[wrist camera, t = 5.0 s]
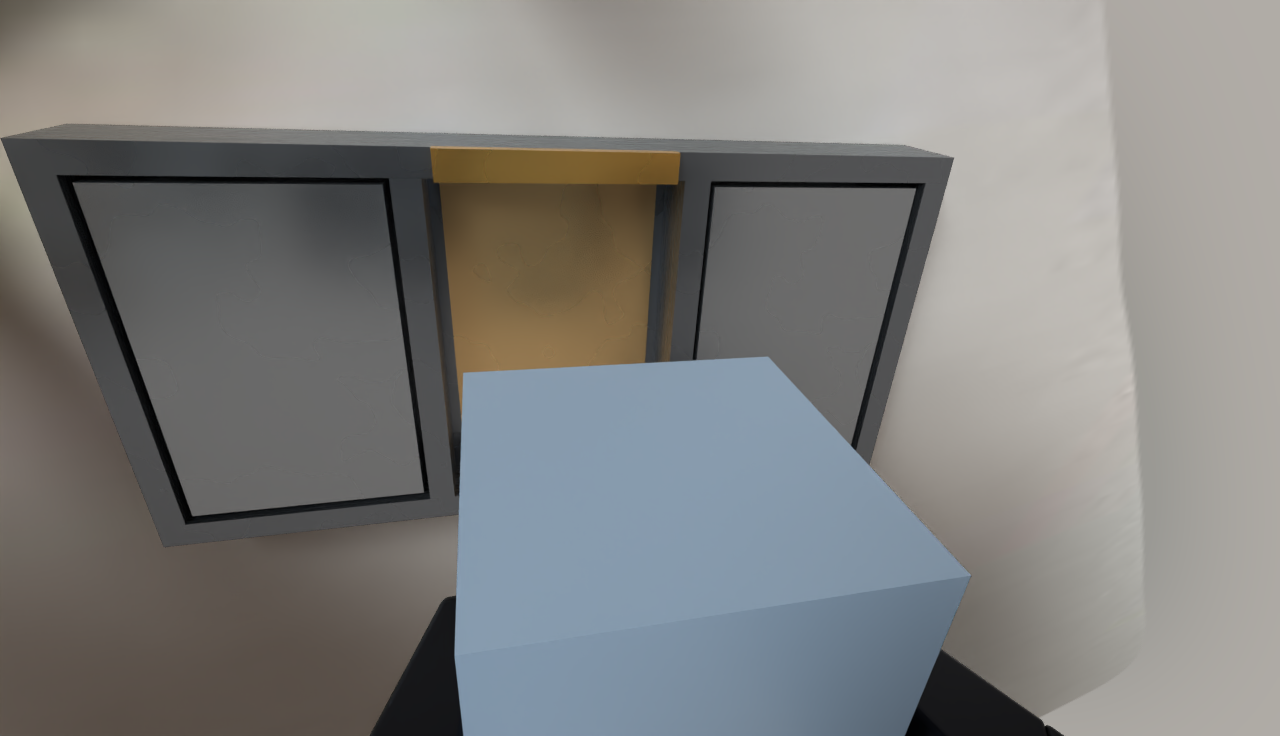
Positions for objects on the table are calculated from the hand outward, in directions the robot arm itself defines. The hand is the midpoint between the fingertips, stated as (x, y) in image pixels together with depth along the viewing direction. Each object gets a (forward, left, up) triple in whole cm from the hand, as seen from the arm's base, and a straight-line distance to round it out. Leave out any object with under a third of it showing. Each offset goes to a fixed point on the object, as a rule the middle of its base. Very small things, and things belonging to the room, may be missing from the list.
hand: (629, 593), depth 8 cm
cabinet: (0, 0, -9) cm, 9 cm away
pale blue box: (0, 0, -1) cm, 1 cm away
